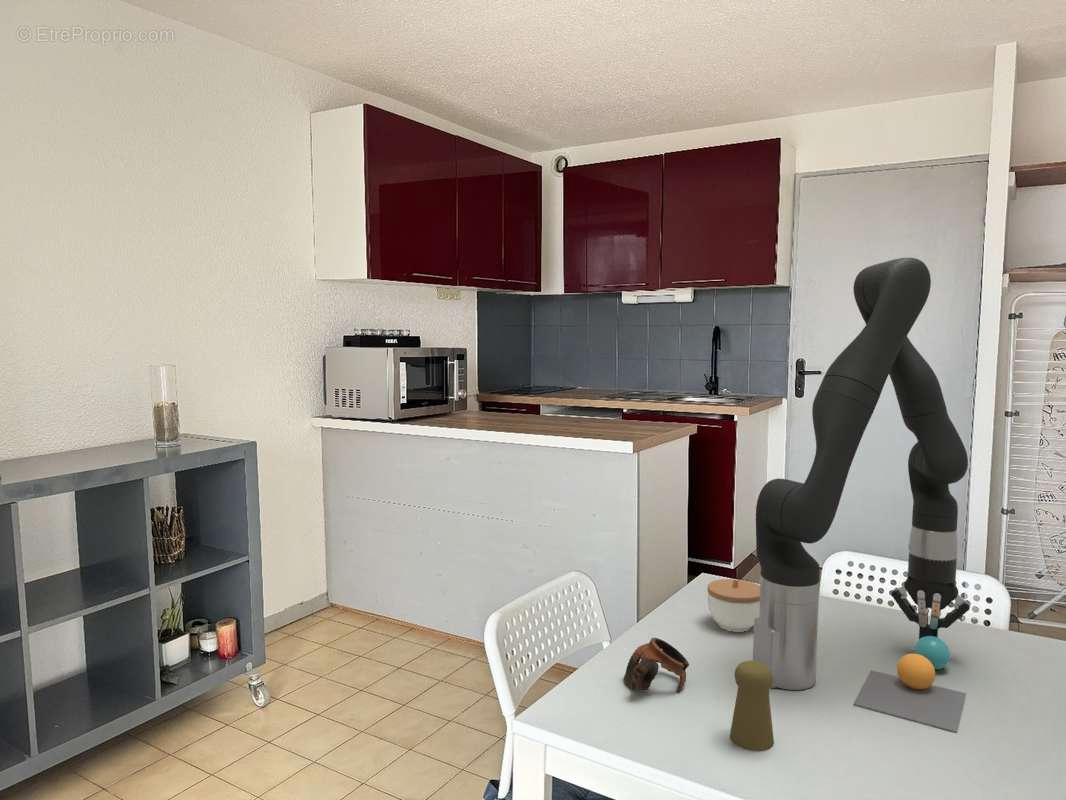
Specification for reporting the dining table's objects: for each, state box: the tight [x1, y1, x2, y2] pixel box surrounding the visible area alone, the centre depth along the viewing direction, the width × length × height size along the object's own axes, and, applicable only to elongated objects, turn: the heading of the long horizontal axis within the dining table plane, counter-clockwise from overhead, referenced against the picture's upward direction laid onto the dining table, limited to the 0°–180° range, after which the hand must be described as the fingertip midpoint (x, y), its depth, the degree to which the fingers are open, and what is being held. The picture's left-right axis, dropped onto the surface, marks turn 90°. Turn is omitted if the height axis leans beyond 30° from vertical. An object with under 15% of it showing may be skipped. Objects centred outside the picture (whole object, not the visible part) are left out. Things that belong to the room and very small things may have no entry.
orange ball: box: [896, 653, 936, 690], centre depth 120 cm, size 6×6×6 cm
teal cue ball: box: [913, 636, 951, 671], centre depth 127 cm, size 6×6×6 cm
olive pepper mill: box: [729, 660, 775, 752], centre depth 105 cm, size 6×6×11 cm
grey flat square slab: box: [853, 670, 967, 734], centre depth 117 cm, size 14×14×1 cm
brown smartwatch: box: [623, 637, 690, 692], centre depth 120 cm, size 12×10×8 cm
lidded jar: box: [707, 578, 760, 633], centre depth 145 cm, size 11×11×9 cm
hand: (927, 646), depth 133 cm, fingers closed
